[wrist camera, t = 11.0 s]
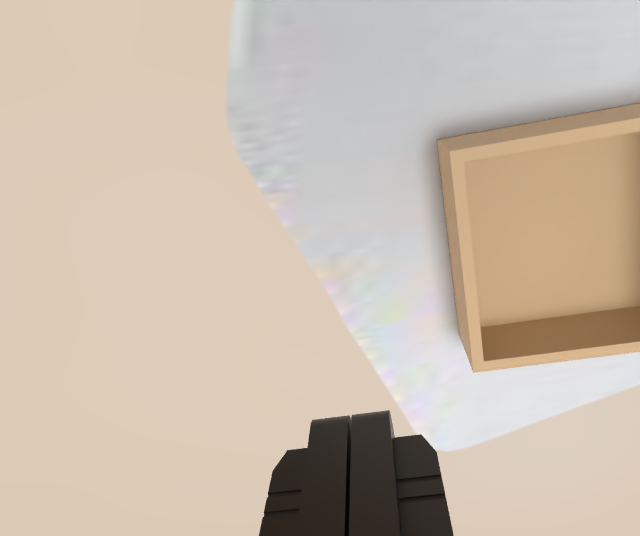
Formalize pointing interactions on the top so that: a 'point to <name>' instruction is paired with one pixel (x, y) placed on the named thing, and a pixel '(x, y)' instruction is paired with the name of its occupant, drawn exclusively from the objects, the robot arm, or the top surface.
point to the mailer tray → (545, 238)
